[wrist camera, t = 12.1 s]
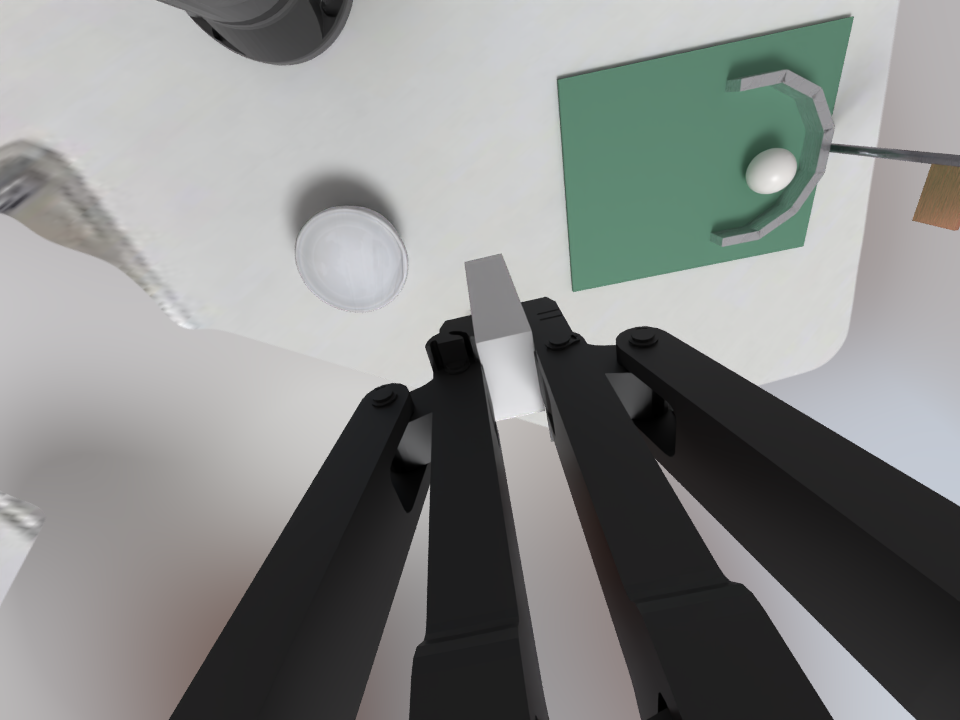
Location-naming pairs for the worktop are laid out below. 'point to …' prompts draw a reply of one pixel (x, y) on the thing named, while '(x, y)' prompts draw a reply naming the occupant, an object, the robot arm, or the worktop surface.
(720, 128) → the putting mat
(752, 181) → the golf ball
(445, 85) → the worktop surface
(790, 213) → the cup
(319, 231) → the ramekin
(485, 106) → the worktop surface
